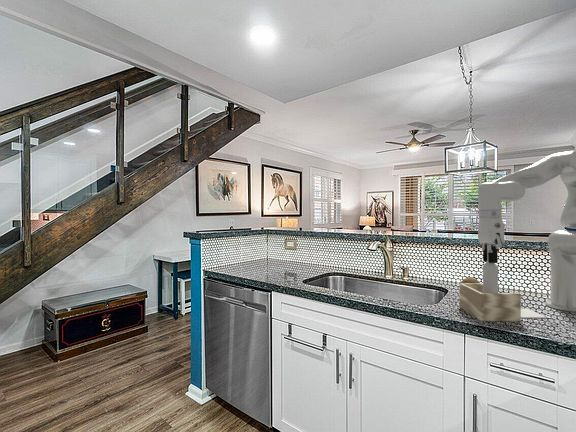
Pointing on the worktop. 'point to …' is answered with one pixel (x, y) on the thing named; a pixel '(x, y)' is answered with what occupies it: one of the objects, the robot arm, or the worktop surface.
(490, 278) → the bottle
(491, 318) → the open side box
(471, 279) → the natural sponge
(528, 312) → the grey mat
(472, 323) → the worktop surface
